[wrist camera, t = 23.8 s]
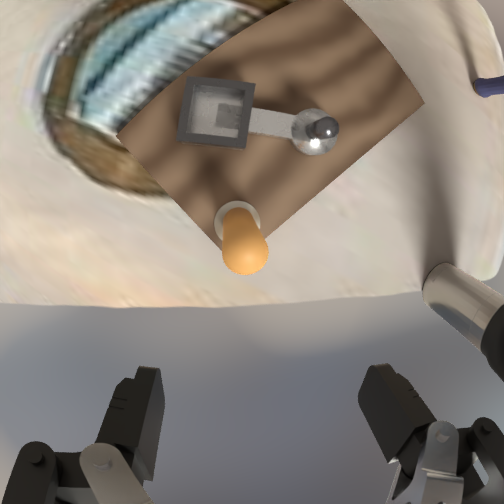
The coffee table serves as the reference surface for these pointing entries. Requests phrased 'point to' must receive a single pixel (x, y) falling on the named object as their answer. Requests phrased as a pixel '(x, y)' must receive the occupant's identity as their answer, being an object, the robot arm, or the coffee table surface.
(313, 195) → the base
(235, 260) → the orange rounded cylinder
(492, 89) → the rubber mallet
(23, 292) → the coffee table surface
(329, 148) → the lever
